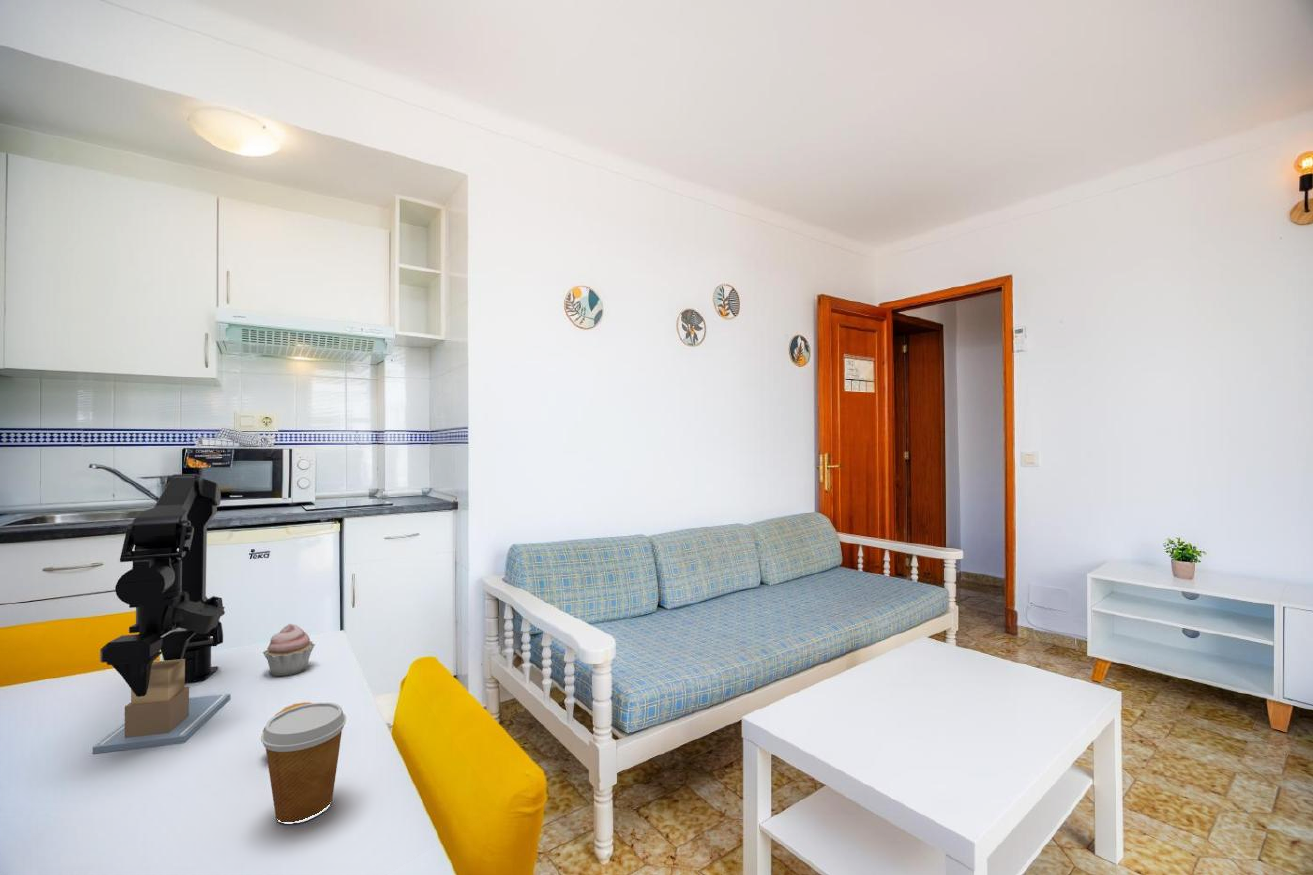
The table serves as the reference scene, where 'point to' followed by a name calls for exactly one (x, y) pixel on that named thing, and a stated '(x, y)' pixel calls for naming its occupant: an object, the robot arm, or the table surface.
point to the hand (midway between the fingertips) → (158, 684)
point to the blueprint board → (169, 737)
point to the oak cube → (163, 682)
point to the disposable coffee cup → (303, 758)
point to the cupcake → (289, 651)
